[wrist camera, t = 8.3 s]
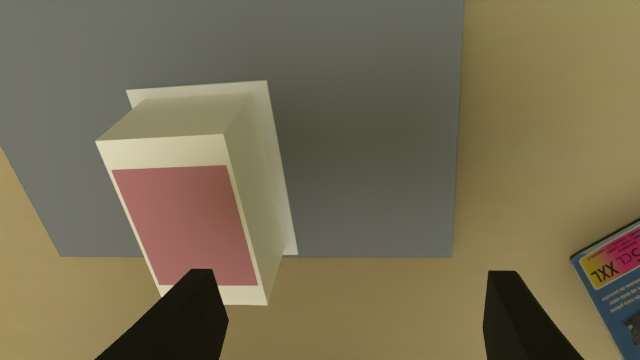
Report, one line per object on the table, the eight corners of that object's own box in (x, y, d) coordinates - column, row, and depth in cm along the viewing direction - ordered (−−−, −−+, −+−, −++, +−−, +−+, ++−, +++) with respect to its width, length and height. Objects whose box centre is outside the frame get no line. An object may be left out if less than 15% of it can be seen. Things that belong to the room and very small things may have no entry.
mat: (450, 249, 23) (452, 258, 23) (66, 249, 27) (59, 257, 26) (471, -205, 14) (475, -209, 13) (-121, -107, 18) (-139, -107, 17)
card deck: (252, 91, 19) (222, 134, 16) (285, 246, 24) (267, 306, 20) (144, 99, 20) (94, 141, 17) (195, 247, 25) (163, 304, 21)
